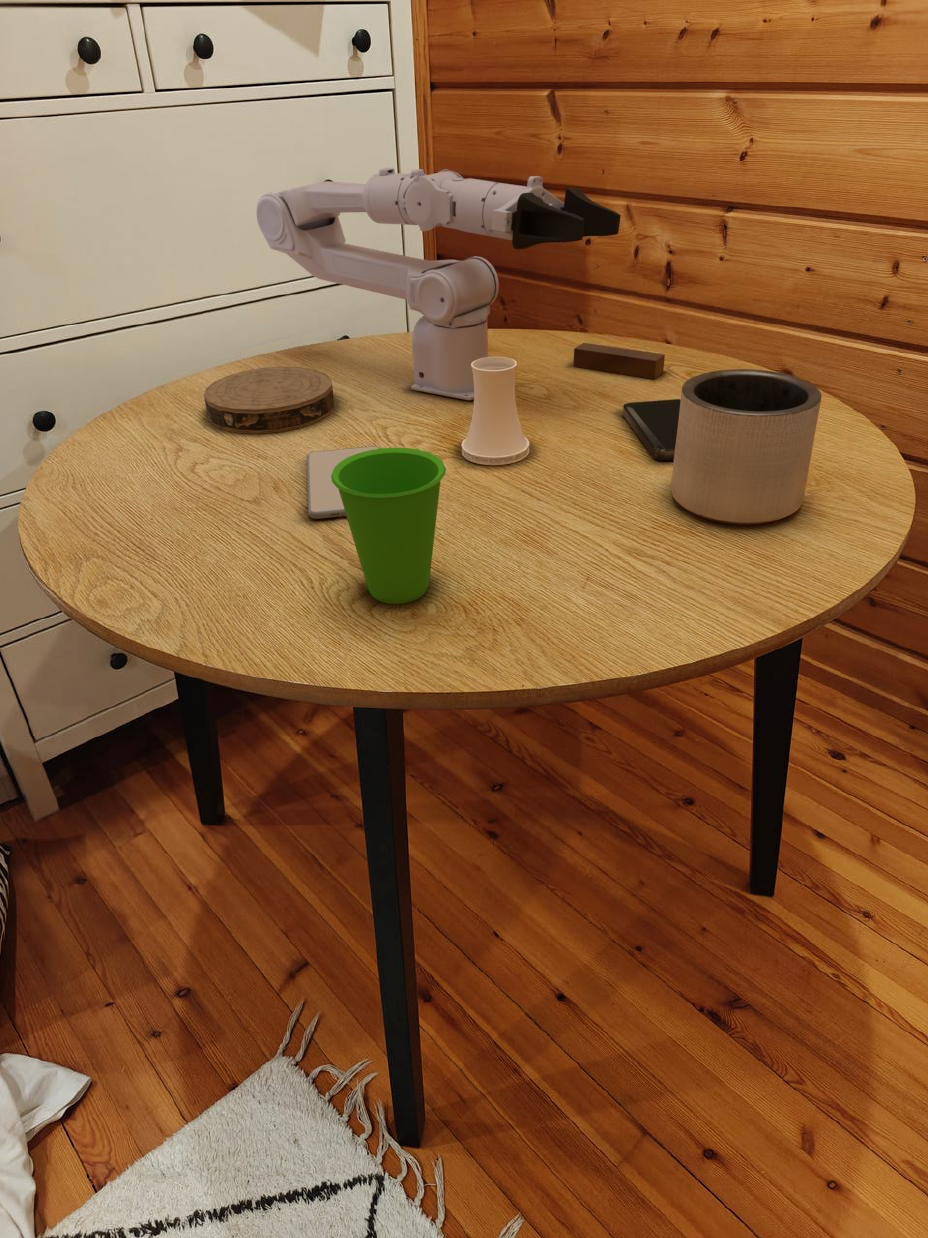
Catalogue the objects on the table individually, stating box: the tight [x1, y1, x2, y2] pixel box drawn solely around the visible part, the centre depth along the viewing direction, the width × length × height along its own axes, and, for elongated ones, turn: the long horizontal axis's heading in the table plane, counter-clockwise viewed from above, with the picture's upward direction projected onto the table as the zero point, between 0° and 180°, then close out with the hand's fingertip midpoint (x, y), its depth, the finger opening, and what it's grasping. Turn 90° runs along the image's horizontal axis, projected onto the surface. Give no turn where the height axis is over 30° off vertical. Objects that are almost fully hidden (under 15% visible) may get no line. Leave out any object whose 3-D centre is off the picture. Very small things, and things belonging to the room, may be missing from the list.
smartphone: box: [306, 445, 381, 520], centre depth 94 cm, size 8×1×15 cm
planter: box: [670, 368, 822, 526], centre depth 86 cm, size 13×12×11 cm
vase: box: [461, 356, 530, 466], centre depth 98 cm, size 8×8×10 cm
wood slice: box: [203, 366, 335, 435], centre depth 114 cm, size 16×16×3 cm
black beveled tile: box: [622, 398, 681, 462], centre depth 103 cm, size 8×1×15 cm
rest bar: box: [573, 342, 666, 380], centre depth 122 cm, size 12×3×2 cm, turn 57°
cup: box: [331, 447, 447, 605], centre depth 74 cm, size 9×9×11 cm
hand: (600, 227), depth 97 cm, fingers open, 7 cm apart
